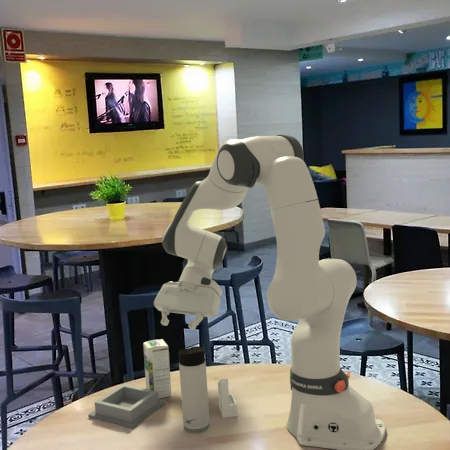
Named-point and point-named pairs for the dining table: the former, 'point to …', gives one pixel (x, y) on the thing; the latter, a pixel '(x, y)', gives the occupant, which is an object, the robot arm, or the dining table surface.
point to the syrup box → (157, 367)
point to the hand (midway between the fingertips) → (177, 326)
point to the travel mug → (194, 389)
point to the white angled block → (226, 400)
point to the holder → (127, 406)
